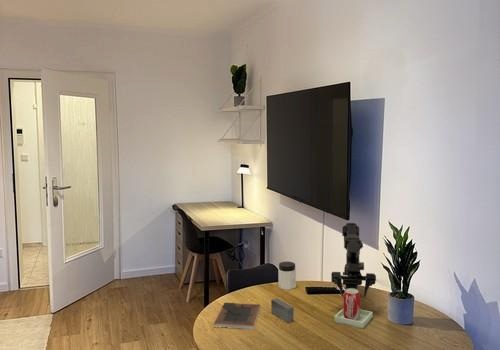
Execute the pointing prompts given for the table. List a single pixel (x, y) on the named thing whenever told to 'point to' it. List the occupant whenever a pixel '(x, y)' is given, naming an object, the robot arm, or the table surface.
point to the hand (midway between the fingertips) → (353, 296)
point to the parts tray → (359, 323)
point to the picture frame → (238, 315)
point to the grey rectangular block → (282, 310)
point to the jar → (287, 275)
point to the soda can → (351, 304)
